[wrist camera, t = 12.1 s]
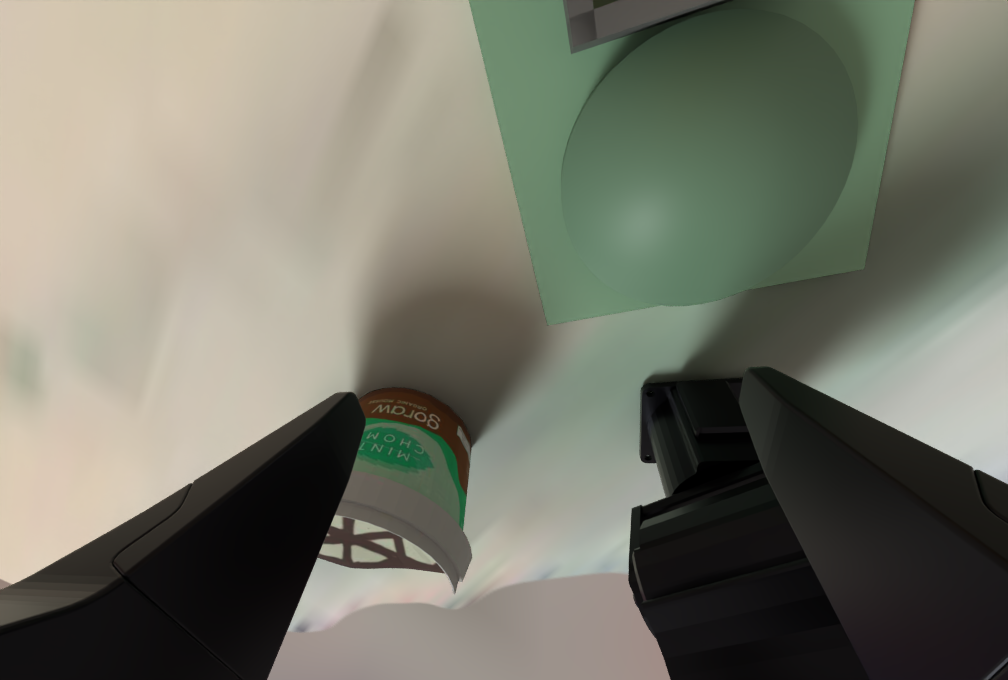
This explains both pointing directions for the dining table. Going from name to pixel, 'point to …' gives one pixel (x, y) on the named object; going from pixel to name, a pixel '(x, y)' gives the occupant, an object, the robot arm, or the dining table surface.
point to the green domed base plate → (691, 141)
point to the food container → (405, 489)
